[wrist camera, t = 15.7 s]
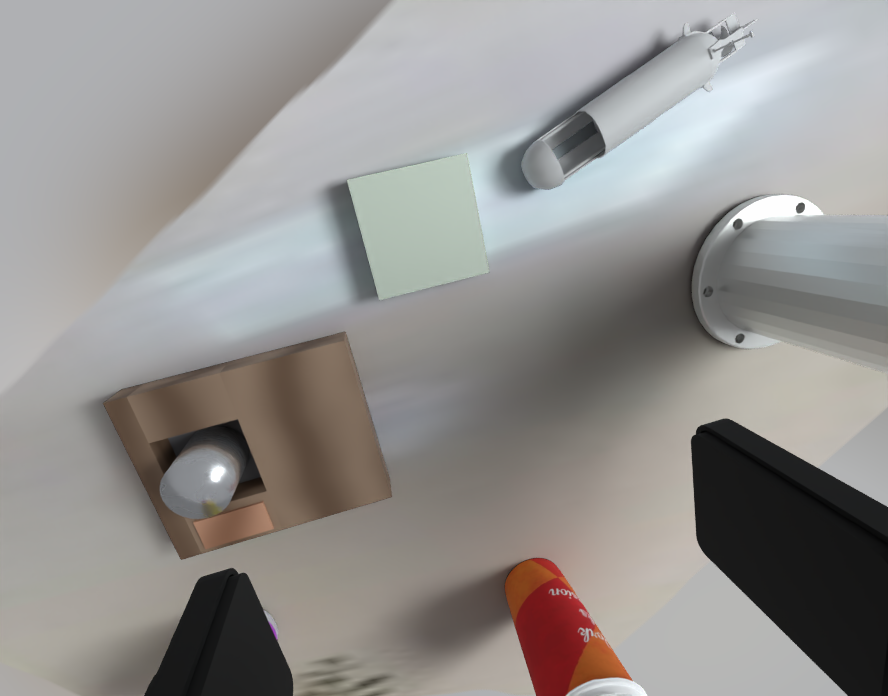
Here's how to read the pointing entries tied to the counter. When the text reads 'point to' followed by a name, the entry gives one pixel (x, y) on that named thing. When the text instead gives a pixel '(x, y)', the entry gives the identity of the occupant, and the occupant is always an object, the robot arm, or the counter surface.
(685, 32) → the torpedo
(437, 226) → the tab
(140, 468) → the walnut flange plate
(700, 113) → the counter surface
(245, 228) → the counter surface
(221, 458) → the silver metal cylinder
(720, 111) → the counter surface
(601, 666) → the paper cup
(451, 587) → the counter surface
